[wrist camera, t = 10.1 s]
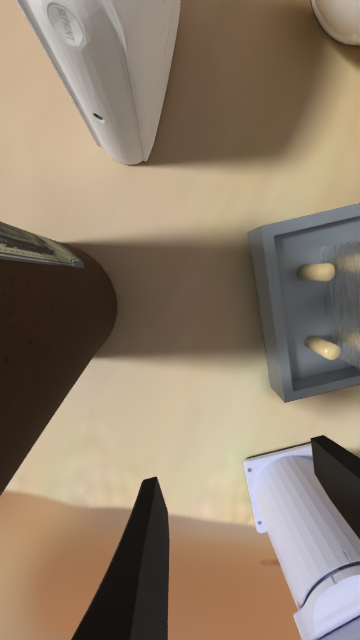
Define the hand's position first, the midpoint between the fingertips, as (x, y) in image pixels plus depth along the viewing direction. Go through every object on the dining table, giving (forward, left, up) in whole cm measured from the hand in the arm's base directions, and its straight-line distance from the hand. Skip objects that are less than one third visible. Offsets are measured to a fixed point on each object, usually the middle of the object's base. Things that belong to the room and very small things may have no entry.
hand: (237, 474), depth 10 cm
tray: (+4, -13, -10) cm, 17 cm away
